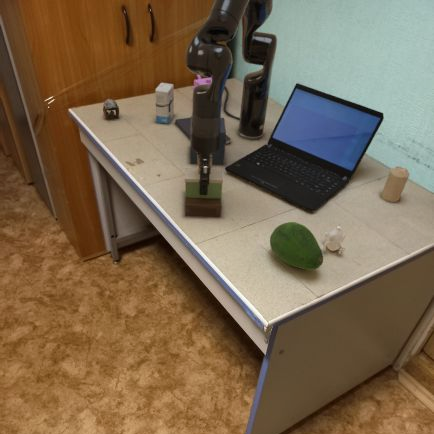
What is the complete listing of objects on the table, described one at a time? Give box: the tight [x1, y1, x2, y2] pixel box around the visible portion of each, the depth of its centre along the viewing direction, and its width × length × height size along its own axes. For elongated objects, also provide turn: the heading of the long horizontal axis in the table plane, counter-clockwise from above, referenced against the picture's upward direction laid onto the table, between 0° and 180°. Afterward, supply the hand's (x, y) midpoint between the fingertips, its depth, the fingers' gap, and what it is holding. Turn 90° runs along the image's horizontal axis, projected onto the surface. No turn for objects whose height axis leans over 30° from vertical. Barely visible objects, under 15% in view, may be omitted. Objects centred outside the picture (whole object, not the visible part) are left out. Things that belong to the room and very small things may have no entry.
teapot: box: [191, 74, 212, 91], centre depth 171 cm, size 18×13×10 cm
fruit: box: [269, 221, 324, 271], centre depth 104 cm, size 15×10×10 cm, turn 33°
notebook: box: [174, 116, 231, 145], centre depth 155 cm, size 13×2×21 cm
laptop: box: [224, 82, 385, 213], centre depth 133 cm, size 33×38×19 cm
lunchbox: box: [184, 167, 224, 200], centre depth 118 cm, size 6×10×6 cm, turn 93°
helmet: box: [102, 98, 120, 120], centre depth 157 cm, size 6×8×7 cm
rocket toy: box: [323, 224, 346, 255], centre depth 109 cm, size 5×5×8 cm
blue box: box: [189, 116, 227, 166], centre depth 139 cm, size 11×11×11 cm
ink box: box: [154, 82, 175, 125], centre depth 158 cm, size 8×5×12 cm, turn 168°
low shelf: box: [184, 197, 222, 218], centre depth 121 cm, size 12×10×4 cm
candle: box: [380, 165, 410, 203], centre depth 129 cm, size 6×6×10 cm
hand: (203, 187), depth 119 cm, fingers closed on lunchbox, 6 cm apart
